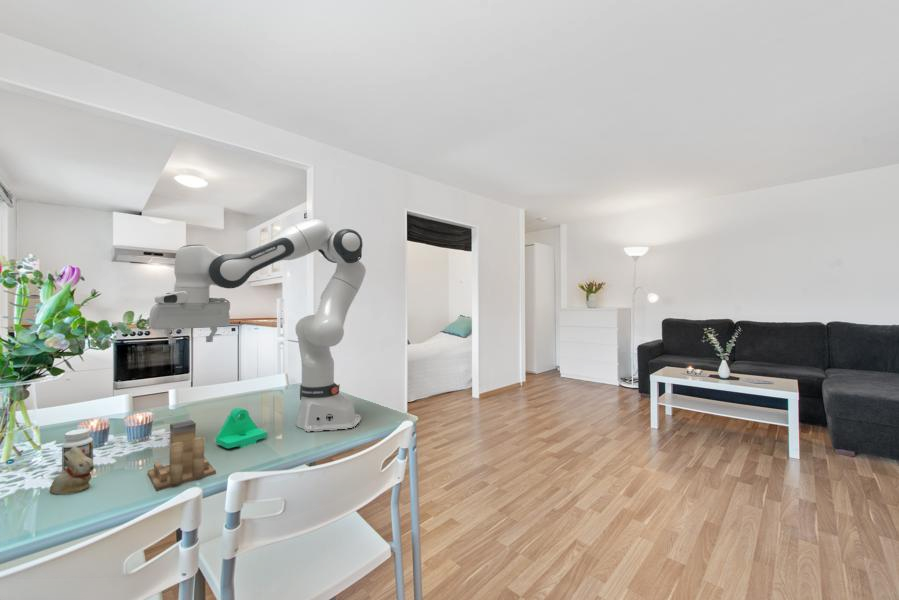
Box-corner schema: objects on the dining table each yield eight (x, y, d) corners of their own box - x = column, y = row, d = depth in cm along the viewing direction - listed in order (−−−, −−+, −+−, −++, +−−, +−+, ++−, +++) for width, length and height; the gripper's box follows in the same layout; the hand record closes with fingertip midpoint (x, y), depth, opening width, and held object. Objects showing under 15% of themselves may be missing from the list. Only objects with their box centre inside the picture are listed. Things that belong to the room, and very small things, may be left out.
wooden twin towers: (147, 473, 93) (148, 435, 93) (202, 459, 102) (203, 424, 102) (157, 492, 85) (157, 450, 85) (216, 474, 93) (217, 436, 93)
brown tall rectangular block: (169, 470, 94) (170, 423, 94) (190, 464, 97) (191, 419, 97) (173, 476, 91) (174, 427, 91) (194, 470, 94) (195, 423, 94)
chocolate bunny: (64, 499, 81) (65, 454, 81) (46, 491, 84) (46, 448, 84) (96, 487, 86) (96, 444, 86) (77, 480, 89) (78, 439, 89)
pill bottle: (98, 466, 97) (99, 428, 97) (71, 476, 92) (71, 436, 92) (83, 463, 99) (84, 426, 99) (55, 473, 93) (56, 434, 93)
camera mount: (227, 452, 107) (228, 417, 107) (215, 446, 111) (216, 412, 111) (267, 439, 117) (268, 407, 117) (255, 434, 121) (255, 403, 121)
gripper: (227, 298, 121) (226, 339, 121) (147, 297, 106) (147, 344, 106) (233, 298, 117) (232, 341, 117) (151, 297, 102) (151, 346, 102)
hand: (191, 343), depth 112 cm, fingers open, 8 cm apart
